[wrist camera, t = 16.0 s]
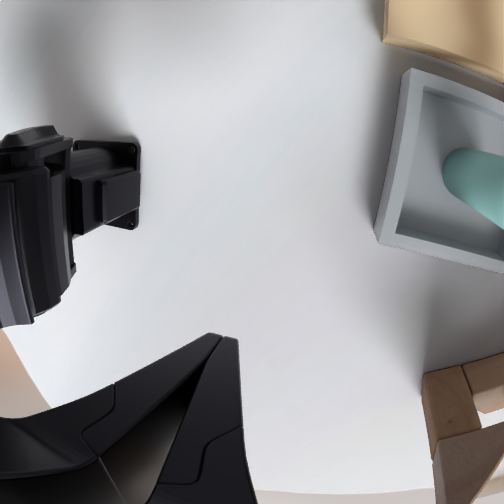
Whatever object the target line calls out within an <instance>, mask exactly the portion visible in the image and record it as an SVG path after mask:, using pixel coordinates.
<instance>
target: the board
mask: <svg viewBox="0 0 504 504" xmlns="http://www.w3.org/2000/svg"><path fill="white" fill-rule="evenodd" d="M382 43H386V44H390V45H394V46H398V47H402V48H406V49H410V50H413V51H417V52H420V53H424V54H427V55H430V56H433V57H436V58H440V59H443V60H446V61H448V62H451V63H454V64H457V65H460V66H462V67H465V68H468V69H470V70H473V71H475V72H478V73H480V74H483V75H485V76H487V77H490V78H492V79H494V80H496V81H499V82H501V83H503V84H504V0H385V1H384V23H383V39H382Z"/></svg>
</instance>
